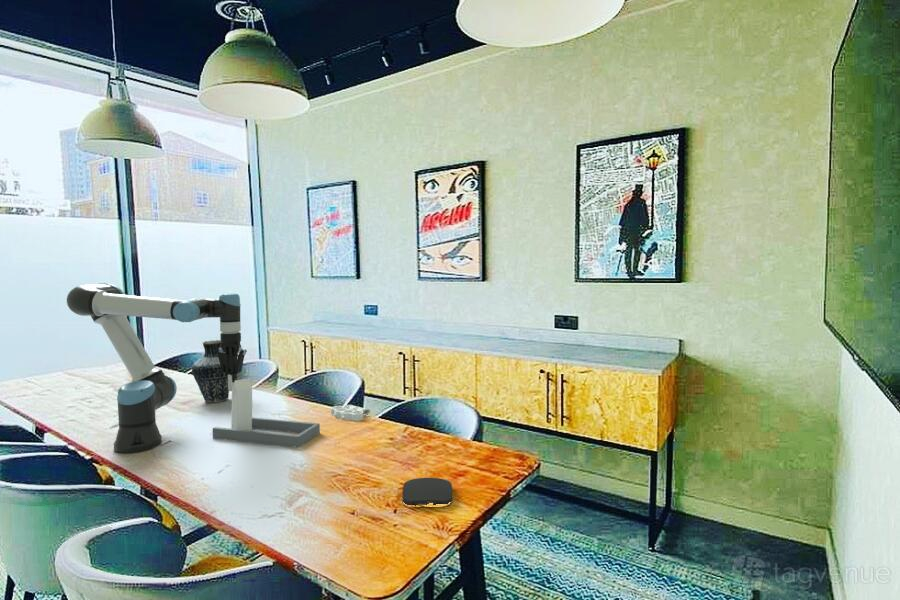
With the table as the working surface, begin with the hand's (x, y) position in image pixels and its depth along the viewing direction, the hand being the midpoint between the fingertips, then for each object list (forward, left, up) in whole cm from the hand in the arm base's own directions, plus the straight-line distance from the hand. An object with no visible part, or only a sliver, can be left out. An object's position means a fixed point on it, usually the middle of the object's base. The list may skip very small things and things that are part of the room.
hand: (232, 390), depth 198 cm
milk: (0, -4, -17) cm, 18 cm away
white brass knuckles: (+33, -36, -18) cm, 52 cm away
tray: (0, -15, -17) cm, 23 cm away
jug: (+38, +39, -18) cm, 57 cm away
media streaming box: (-33, -92, -18) cm, 99 cm away
